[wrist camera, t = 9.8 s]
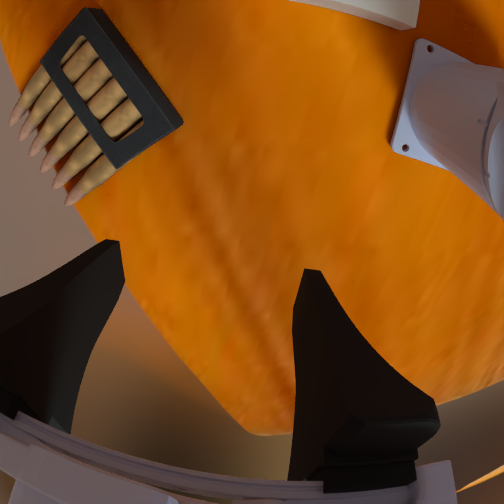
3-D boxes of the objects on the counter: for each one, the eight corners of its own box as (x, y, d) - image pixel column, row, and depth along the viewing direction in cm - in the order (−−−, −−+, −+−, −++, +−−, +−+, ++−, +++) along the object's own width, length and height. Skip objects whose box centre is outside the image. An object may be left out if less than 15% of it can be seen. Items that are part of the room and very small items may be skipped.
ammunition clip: (100, 7, 14) (11, 114, 18) (84, 5, 12) (-3, 121, 17) (184, 123, 18) (78, 208, 23) (174, 130, 17) (66, 219, 22)
